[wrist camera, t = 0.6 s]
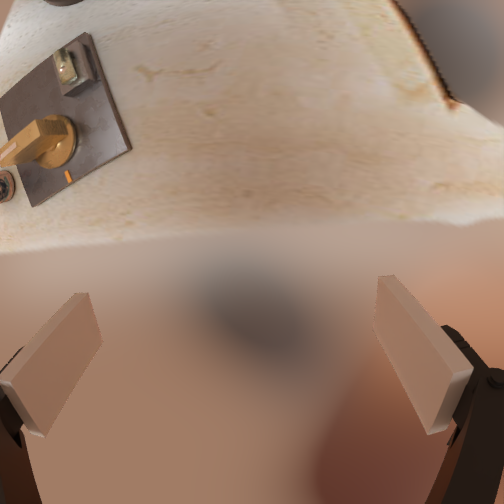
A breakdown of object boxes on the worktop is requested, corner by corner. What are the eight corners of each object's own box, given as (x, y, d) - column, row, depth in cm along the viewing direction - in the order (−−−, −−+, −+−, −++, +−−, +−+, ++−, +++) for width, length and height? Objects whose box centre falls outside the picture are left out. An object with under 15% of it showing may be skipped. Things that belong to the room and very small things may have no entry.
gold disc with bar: (22, 138, 33) (-17, 141, 25) (66, 104, 32) (28, 100, 24) (37, 182, 35) (-1, 193, 27) (83, 152, 34) (46, 156, 26)
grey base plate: (4, 100, 33) (-23, 99, 27) (90, 34, 31) (67, 21, 25) (37, 205, 38) (11, 215, 32) (131, 149, 36) (110, 150, 30)
